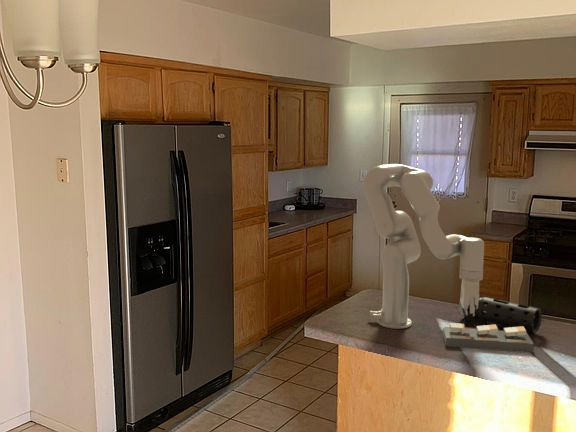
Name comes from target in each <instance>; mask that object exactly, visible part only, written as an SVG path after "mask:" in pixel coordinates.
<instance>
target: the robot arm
mask: <svg viewBox="0 0 576 432" xmlns="http://www.w3.org/2000/svg"><path fill="white" fill-rule="evenodd" d="M392 187H398V188H400V189H401V191H402V194H404V196H405V198H406V199H407V200H408V202H409V204H410V206H411V207H412V209H413V211H414V212H415V214H416V216H417V218H418V223H419V224H418V225H419V229H420V233H421V237H422V239H423V240H424V243H425V244H426V245H427V248H428V249H429V250H430V252H431V253H432V255H434V256H435V258H437V259H439V260H449V259H452V258H453V257H457V256H459V279H460V280H461V285H460V298H459V302H461V305H462V307H463V309H465V314H464V315H463V316H464V317H463V319H464V321H463V324H464V326H465V327H470V328H474V327H475V324H476V323H475V320H476V319H475V316H474V315H475V309H478V303H479V295H480V281H482V280H483V279H484V255H485V242H484V240H483V239H481V238H479V237H470V236H469V237H467V236H464V235H461V234H455V233H452V234H448V235H446V234H445V233H444V231H443V229H442V228H441V226H440V223H439V219H438V217H439V212H440V210H441V209H440V208H441V205H440V203H439V201H438V199H437V198H436V197H435V195H434V194H433V191H431V190H432V188H433V187H434V180H433V177H432V175H431V174H430V173H429V172H428V171H426V170H423V169H420V168H415V167H411V166H408V165H404V164H399V163H389V164H380V165H376V166H373V167H372V168H370V169H369V170H368V171H367V172H366V174H365V176H364V178H363V183H362V188H363V194H364V196H365V198H366V201H367V204H368V206H369V209H370V212H371V216H372V218H373V222H374V225H375V228H376V231H377V233H378V234H379V236H380V237H381V238H383V239H392V238H393V239H394V240H393V241H391V242H388V243H387V244H386V245H385V246H384V247H383V249H382V251H381V263H382V268H383V269H382V273H383V274H382V301H381V302H382V305H381V306H382V307H381V309H380V310H378V311H377V310H376V311H375V310H370V311H369V316H370V317H372V318H375V319H377V324H379V326H381V327H384V328H388V329H395V330H397V329H398V330H399V329H407V328H409V327H411V326H413V325H412V323H413V322H412V320H411V319H410V318H409V317H408V314H409V296H410V295H409V293H410V291H409V290H410V274H409V269H408V264H410V263H413V262H416V261H418V259H419V258H420V257H421V254H422V249H421V248H422V247H421V243H420V241H419V236H418V234H417V231H416V228H415V225H414V222H413V220H412V218H411V216H410V215H409V214H408V213H406V211H403V210H396V209H395V206H394V203H393V200H392V198H391V197H390V195H389V194H388V192H387V190H386V188H387V189H388V188H392Z"/></svg>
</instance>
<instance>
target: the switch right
mask: <svg viewBox="0 0 576 432" xmlns="http://www.w3.org/2000/svg"><path fill="white" fill-rule="evenodd" d="M503 331H504V333H505V334H506V336H517V335H527V334H526V330H525V328H524V327H523V326H520V327H509V328H506V327H503Z"/></svg>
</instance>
